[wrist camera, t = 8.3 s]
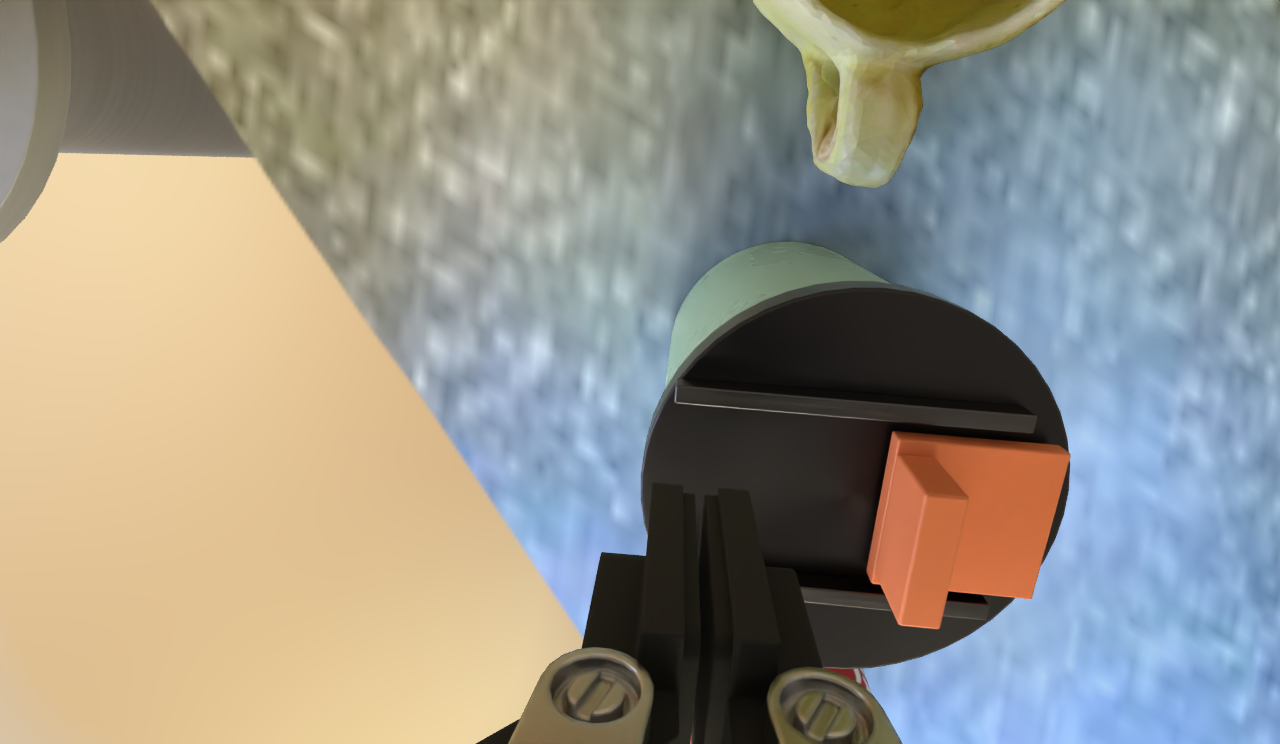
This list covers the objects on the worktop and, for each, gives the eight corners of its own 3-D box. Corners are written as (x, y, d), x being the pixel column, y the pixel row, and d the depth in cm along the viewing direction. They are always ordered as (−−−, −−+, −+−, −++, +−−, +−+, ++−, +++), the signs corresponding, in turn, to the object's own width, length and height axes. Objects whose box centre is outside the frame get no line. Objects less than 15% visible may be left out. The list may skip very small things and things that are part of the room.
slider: (865, 571, 15) (895, 640, 13) (892, 429, 14) (928, 478, 12) (1021, 586, 15) (1078, 658, 13) (1059, 443, 14) (1128, 496, 12)
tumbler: (654, 451, 28) (625, 667, 16) (671, 224, 25) (653, 275, 13) (880, 471, 27) (1028, 709, 15) (922, 242, 25) (1143, 312, 13)
